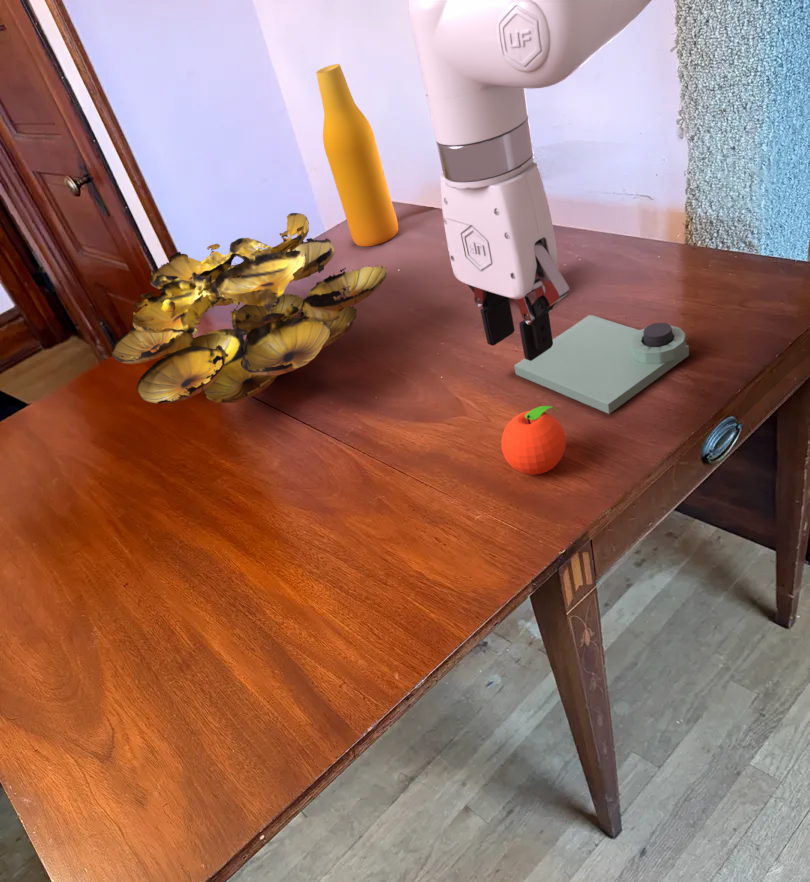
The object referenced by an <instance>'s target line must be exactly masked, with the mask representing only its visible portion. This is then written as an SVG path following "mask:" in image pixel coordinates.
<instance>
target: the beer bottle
mask: <svg viewBox="0 0 810 882" xmlns="http://www.w3.org/2000/svg"><path fill="white" fill-rule="evenodd" d="M315 74H316V79H317V84H318V89H319V93H320V98H321V104H322V108H323V125H322V141H323V142H322V143H323V148H324V152H325V155H326V158H327V161H328V165H329V168H330V171H331V174H332V177H333V180H334V183H335V186H336V190H337V193H338V197H339V200H340V202H341V206H342V209H343V212H344V215H345V218H346V222H347V226H348V228H349V232H350V237H351V238H352V241H353V242H354V244H355V245H356V246H358V247H362V248H366V247H367V248H368V247H374V246H378V245H381V244H384V243H386V242H388V241H390V240H391V239H393V238H394V237H395V236H396V235H397V234H398V232H399V223H398V218H397V215H396V212H395V211H396V210H395V209H394V208H395V207H394V204H393V201H392V197H391V194H390V190H389V186H388V183H387V178H386V175H385V172H384V171H385V170H384V168H383V167H384V166H383V164H382V160H381V157H380V152H379V150H378V149H379V148H378V146H377V141H376V138H375V133H374V131H373V128H372V126H371V124H370V122H369V120H368V119H367V117H366V116H365V115H364V113H363V112H362V111H361V109H360V108H359V107H358V105H357V104H356V102H355V100H354V98H353V95H352V93H351V91H350V88H349V85H348V83H347V80H346V77H345V75H344V72H343V70H342V67H341V65H340V64H339V63H335V64H330V65H327V66H324V67H322V68H320V69H318V70H317V71H316V73H315Z"/></svg>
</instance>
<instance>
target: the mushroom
mask: <svg viewBox="0 0 810 882" xmlns="http://www.w3.org/2000/svg"><path fill="white" fill-rule="evenodd" d="M286 219H287V221H286V230H285V231H283V232H282V233H281V232H280V233H279V236H280V237H281V239H282V241H281V242H280V243H279V244H277V245H275V246H271V245H268V244H266V243H264V242H262V241H259V240H257V239H254V238H249V237H239V238H237V239H235V240H234V241H232V242H231V243H230V244H229V251H228V253H227V254H222V253H221V252H219V251H215V250H218V249H219V248H220V247H221V245H220V244H219V243H213V244H211V245H209V246H207V247H206V249H207V250H208V251H209V250H210V254H209V256H206V258H204V259H202V260H201V261H200V260H196V259H195V258H193V257H189V255H188V254H187V253H181V251H177V252H176V253H174V254H172V255H170V256H169V258H168V259H169V261H168V262H166V263H163V264H161V265H160V267H159V268H157V269H152V268H150V271H151V273H150V279H149V283H150V285H151V286H152V287H153V288H155V289H157V290H159V292H160V291H161V293H160V294H159V295H155V296H154V295H153V294H156V292H155V291H152V292H151V291H150V292H147V293H143V294H140V297H141V300H140V301H139V302H138V303H137V302H134V309H133V311H132V313H133V314H132V327H130V328H129V330H128V331H127V333H123V334H122V335H120V336H119V338H117V340H116V341H115V342H114V344H113V345H112V346H111V348H112V350H111V351H110V353H111V354H110V355H111V356H112V358H113V359H114V360H115V361H118V362H120V363H122V364H126V365H136V364H137V365H138V364H144V363H148V362H151V361H154V360H157V359H159V360H157V361H156V362H154V363H153V364H152V366H150V367H149V368H148V369H147V370H146V371H145V372H144V373H143V374H142V375H141V377H140V378H139V380H138V382H137V384H136V391H137V393H138V395H139V397H140V398H141V399H142V400H144V401H146V402H148V403H153V404H175V403H178V402H182V401H186V400H189V399H190V398H192V397H194V396H196V395H198V394H201V393H202V392H203V394H204V396H205V397H206V399H207V400H209V401H211V402H214V403H217V404H229V403H230V404H231V403H232V404H233V403H238V402H241V401H245V400H248V399H250V398H252V397H254V396H256V395H258V394H259V393H262V392H263V391H264V390H266V389H267V388H268V387H269V386H270V385H271V384H272V383H273V382H274V381H275V380H276V379H277V378H278V377H279V376H281V375H284V374H287V373H290V372H293V371H296V370H298V369H299V368H302V367H304V366H306V365H307V364H309V363H310V362H311V361H312V360H314V359H315V358H316V357H317V355H318V354H319V353H320V352H321V351H322V350H323V348H325V347H327V346H329V345H331V344H333V343H336V342H337V341H339V340H340V339H341V338H342V337H343V336H345V335H346V334H347V333H348V332H349V331H350V329H351V328H352V327H353V326H354V323H355V321H356V320H357V318H358V310H357V308H356V307H355V306H354V305H357V304H359V303H361V302H362V301H365V300H366V299H367V298H368V297H370V296H371V295H372V294H373V293H374V292H375V291H376V290H377V289H378V288H379V287H380V286H381V284H382V283H383V282H384V280H385V279H386V277H387V274H388V272H387V269H388V268H387V266H384V267H383V265H381V266H378V265H376V266H374V267H373V266H369V265H368V266H362V268H359V269H358V268H357V269H352V270H349V271H345V270H346V269H347V267H343V268H341V269H340V270H339V273H338V274H333V275H329V276H328V277H326V278H324V279H323V280H321V281H317V282H316V284H315V286H313V287H312V288H311V289H310V290H309V291H308V293H307V296H306V297H304V298H303V297H302V296H300V295H299V294H291V293H288V292H286V293H284V292H285V290H286V288H287V286H288V285H289V284H290V283H291V282H294V281H299V280H303V279H305V278H309V277H311V276H312V275H314V274H316V273H319V274H320V273H321V272H322V271H324V270H325V266H326V265H328V263H329V262H330V261H331V260H332V258H333V257H334V254H335V248H334V245H333V243H332V241H331V240H330V239H329V238H326V237H325V239H315V240H314V238H313V237H309V238H306V237H308V233H309V230H310V227H309V224H310V222H309V218H308V217H307V216H306V215H305V214H303V213H300V212H299V213H298V212H291V213H289V214H288V215H286ZM295 235H296V237H294V236H295ZM292 237H293V238H292ZM305 239H306V241H304V240H305ZM236 257H238V258H240V259H242V261H241V262H240V263H237V264H232V263H233V260H234V259H235V258H236ZM340 296H341V297H340ZM231 304H235V305H236V308H234V309H233V310H231V311H230V317H231V325H232V326H231V327H232V328H221V329H218V330H210V331H208V332H205V333H204V334H201V335H198V336H195V337H194V335H197V334H199V333H200V330H199V328H198V327H196V326H199V325H202V321H201V320H198V319H204V317H203V314H205V313H207V312H208V310H209V309H211V308H215V307H227V306H229V305H231ZM240 304H243V305H242V306H240ZM239 306H240V307H239ZM138 309H139V310H138ZM297 315H299V316H297ZM244 336H246V337H245V339H244ZM160 358H161V359H160Z"/></svg>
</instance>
